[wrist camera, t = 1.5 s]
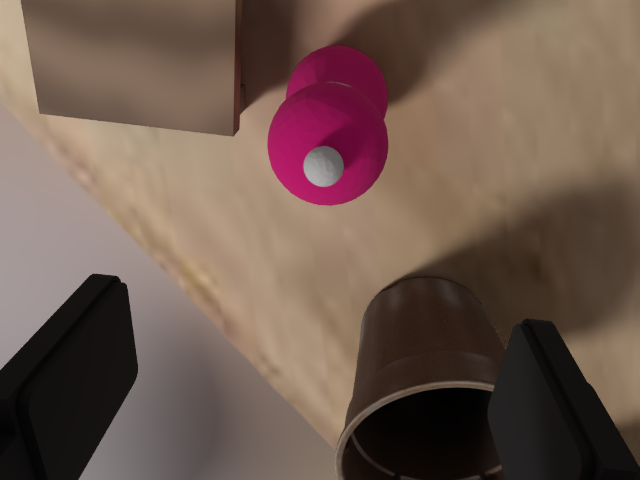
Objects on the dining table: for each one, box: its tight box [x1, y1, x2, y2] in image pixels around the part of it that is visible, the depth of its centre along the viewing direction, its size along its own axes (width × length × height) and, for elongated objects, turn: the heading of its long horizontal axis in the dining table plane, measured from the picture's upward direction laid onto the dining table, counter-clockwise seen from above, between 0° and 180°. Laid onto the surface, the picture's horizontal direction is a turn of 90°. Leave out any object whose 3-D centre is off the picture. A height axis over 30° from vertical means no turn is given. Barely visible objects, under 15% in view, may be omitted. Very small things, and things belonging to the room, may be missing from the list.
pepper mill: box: [268, 46, 388, 206], centre depth 29 cm, size 7×7×20 cm
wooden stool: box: [21, 0, 245, 136], centre depth 34 cm, size 14×14×6 cm
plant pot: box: [335, 277, 506, 480], centre depth 41 cm, size 16×16×16 cm
